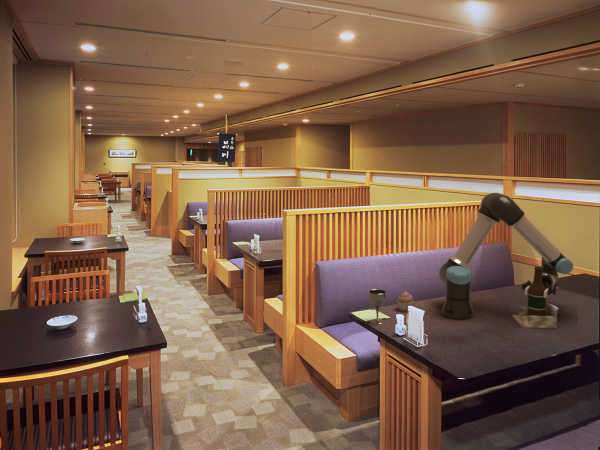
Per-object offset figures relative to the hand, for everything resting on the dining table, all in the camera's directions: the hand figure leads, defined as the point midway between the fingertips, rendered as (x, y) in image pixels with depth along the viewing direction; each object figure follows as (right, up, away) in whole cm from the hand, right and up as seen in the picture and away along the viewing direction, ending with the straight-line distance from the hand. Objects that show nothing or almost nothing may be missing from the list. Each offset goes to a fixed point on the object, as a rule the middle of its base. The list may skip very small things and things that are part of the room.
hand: (535, 293), depth 217 cm
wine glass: (-70, -16, +13) cm, 73 cm away
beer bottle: (+3, -12, +6) cm, 14 cm away
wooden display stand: (+3, -15, +6) cm, 16 cm away
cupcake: (-53, -13, +29) cm, 62 cm away
